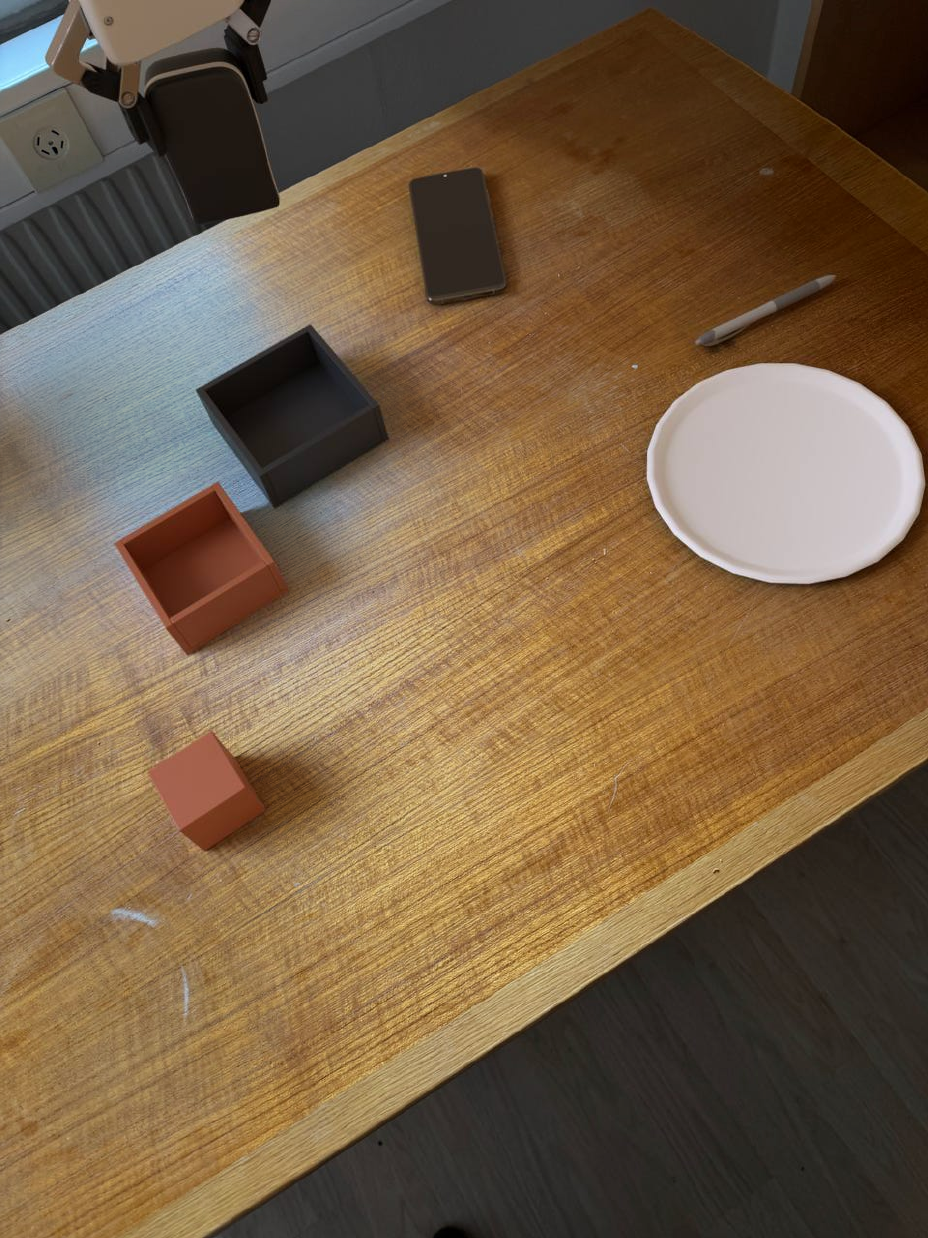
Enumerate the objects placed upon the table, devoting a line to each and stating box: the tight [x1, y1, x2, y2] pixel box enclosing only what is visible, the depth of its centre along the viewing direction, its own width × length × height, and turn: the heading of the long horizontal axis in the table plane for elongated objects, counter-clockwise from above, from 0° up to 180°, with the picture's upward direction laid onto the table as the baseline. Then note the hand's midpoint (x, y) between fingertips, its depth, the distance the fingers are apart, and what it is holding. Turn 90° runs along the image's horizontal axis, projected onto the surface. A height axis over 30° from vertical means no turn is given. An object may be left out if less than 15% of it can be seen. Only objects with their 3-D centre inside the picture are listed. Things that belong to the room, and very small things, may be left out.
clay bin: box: [113, 481, 290, 655], centre depth 80 cm, size 9×9×4 cm
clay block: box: [147, 730, 267, 852], centre depth 71 cm, size 5×5×5 cm
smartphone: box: [408, 166, 508, 306], centre depth 96 cm, size 7×1×16 cm
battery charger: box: [143, 47, 281, 226], centre depth 73 cm, size 7×4×11 cm, turn 102°
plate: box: [646, 362, 926, 586], centre depth 80 cm, size 21×21×1 cm
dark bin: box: [195, 323, 390, 509], centre depth 86 cm, size 11×11×4 cm
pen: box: [694, 274, 837, 347], centre depth 88 cm, size 1×14×1 cm, turn 117°
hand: (204, 117), depth 72 cm, fingers closed on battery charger, 7 cm apart
